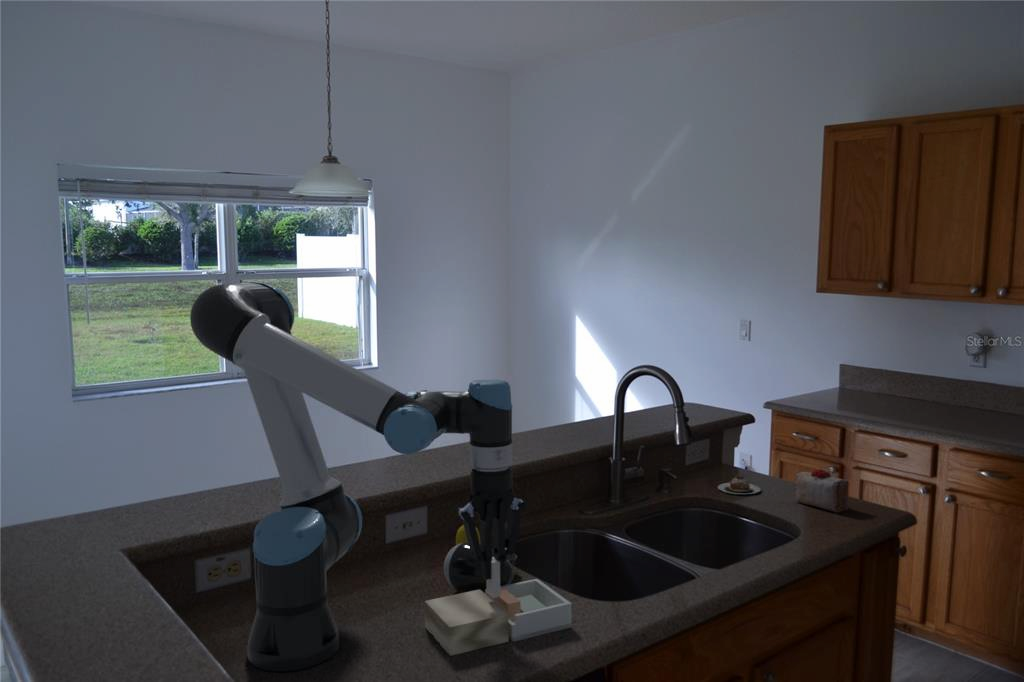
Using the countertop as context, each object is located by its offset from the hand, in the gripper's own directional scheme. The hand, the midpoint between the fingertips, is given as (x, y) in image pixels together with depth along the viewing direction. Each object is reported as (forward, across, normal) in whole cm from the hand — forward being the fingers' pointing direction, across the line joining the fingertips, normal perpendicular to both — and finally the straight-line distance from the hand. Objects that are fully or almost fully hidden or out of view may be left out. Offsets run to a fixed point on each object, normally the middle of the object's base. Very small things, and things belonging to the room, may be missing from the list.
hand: (493, 594), depth 143 cm
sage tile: (+3, +7, 0) cm, 8 cm away
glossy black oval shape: (+2, 0, +21) cm, 21 cm away
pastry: (+7, +101, +46) cm, 111 cm away
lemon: (+7, +10, +35) cm, 37 cm away
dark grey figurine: (+7, +13, +23) cm, 27 cm away
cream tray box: (+6, -6, 0) cm, 8 cm away
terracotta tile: (+3, +2, 0) cm, 4 cm away
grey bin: (+6, +6, 0) cm, 9 cm away
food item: (+7, +110, +24) cm, 113 cm away
